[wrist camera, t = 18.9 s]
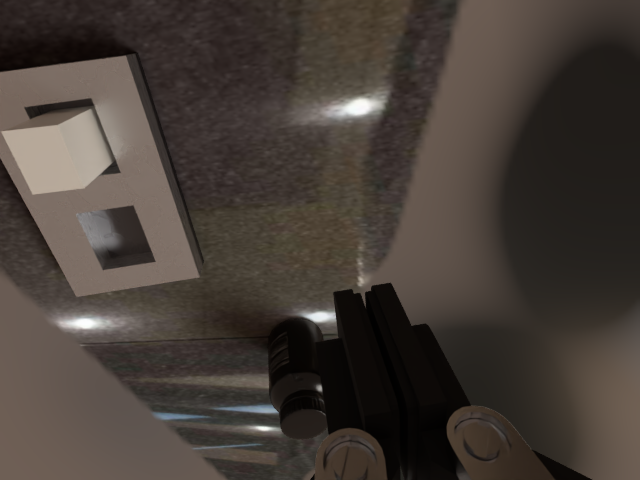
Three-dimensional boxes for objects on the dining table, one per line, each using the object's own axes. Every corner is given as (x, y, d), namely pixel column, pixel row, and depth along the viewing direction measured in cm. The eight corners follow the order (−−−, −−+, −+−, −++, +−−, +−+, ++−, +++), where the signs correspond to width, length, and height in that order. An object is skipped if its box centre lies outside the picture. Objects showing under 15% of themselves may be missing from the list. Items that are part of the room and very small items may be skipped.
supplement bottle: (276, 362, 49) (278, 453, 39) (261, 324, 46) (259, 412, 36) (328, 350, 49) (344, 437, 39) (317, 310, 46) (331, 394, 35)
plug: (52, 110, 31) (0, 131, 25) (98, 105, 31) (57, 125, 25) (75, 163, 33) (32, 194, 27) (117, 158, 34) (84, 188, 28)
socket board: (-17, 73, 30) (-44, 77, 27) (137, 52, 31) (125, 55, 28) (89, 279, 40) (76, 296, 37) (203, 260, 41) (199, 277, 38)
